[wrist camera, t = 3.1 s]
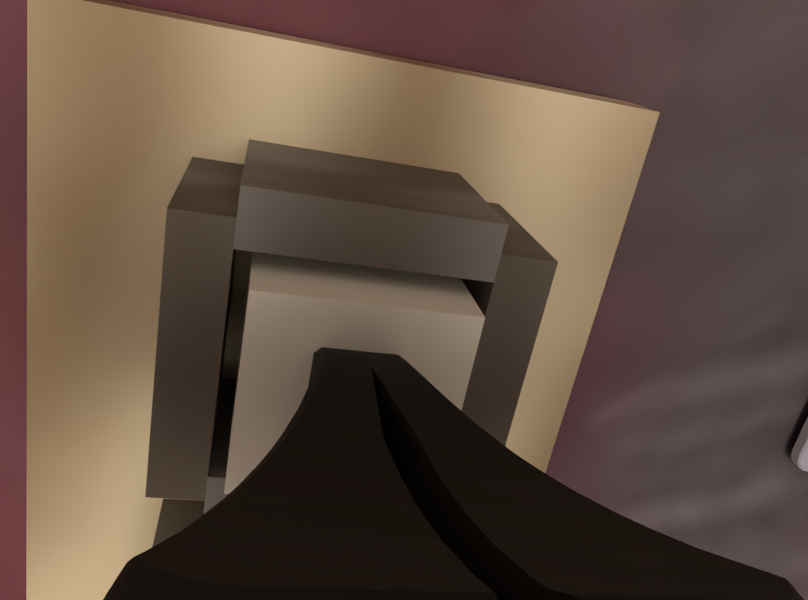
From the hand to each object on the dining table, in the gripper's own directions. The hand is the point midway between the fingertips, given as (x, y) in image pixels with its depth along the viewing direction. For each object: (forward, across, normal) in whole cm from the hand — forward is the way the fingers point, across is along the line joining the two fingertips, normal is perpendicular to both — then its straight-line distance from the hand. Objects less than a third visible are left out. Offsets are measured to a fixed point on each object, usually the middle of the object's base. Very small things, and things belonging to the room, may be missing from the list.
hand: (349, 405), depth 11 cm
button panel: (+6, 0, +8) cm, 10 cm away
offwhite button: (+3, 0, 0) cm, 3 cm away
